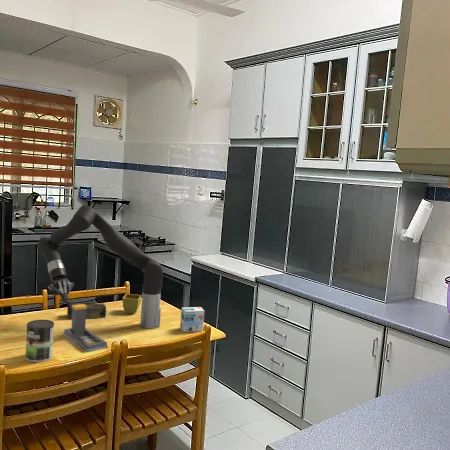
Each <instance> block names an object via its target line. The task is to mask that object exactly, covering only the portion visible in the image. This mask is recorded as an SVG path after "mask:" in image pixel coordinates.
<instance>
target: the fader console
mask: <svg viewBox="0 0 450 450" xmlns="http://www.w3.org/2000/svg"><path fill="white" fill-rule="evenodd" d="M71 331H72V327H71V328H69V327H68V328H64V332H62V335H63V336H64V337H65V338H67V339H68V340H70V341H71V343H73V344H75V345H76V346H77V347H79V348H80V349H81V350H82V351H84V352H85V353H88V352H93V351H98V350H103V349H107V348H109V345H108V342H107V341H106V340H104V339H102V338H101V337H100V336H98V335H97V334H96V333H94V332H93V331H91V330H89V329H88V328H86V327H85V334H80V335H76V334H74V333H73V332H71Z"/></svg>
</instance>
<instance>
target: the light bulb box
mask: <svg viewBox="0 0 450 450" xmlns="http://www.w3.org/2000/svg"><path fill="white" fill-rule="evenodd" d="M180 310H181V311H180V322H179V328H180V330H181V331H182V332H184V333H187V332H188V333H189V332H190V333H191V332H192V333H193V332H203V331H204V321H205V309H203V307H201V306H193V307H192V306H191V307H190V306H189V307H187V306H186V307H181V309H180ZM202 330H203V331H202Z"/></svg>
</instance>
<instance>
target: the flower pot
mask: <svg viewBox="0 0 450 450" xmlns="http://www.w3.org/2000/svg"><path fill="white" fill-rule="evenodd" d="M141 302H142V295H141V294H131V293H125V295H124V296H122V307H123V308H122V309H123V310H124V312H125V314H134V315H136V313H137V311H138V309H139V308H140V305H141Z"/></svg>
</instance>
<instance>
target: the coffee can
mask: <svg viewBox="0 0 450 450" xmlns="http://www.w3.org/2000/svg"><path fill="white" fill-rule="evenodd" d="M54 327H55V322H54V321H53V320H49V319H34V320H30V321H28V322H27V323H26V344H25V360H26V361H27V362H31V363H41V362H47V361H49V360H51V359H52V358H53V356H54V355H53V351H54V350H53V347H54Z"/></svg>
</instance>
